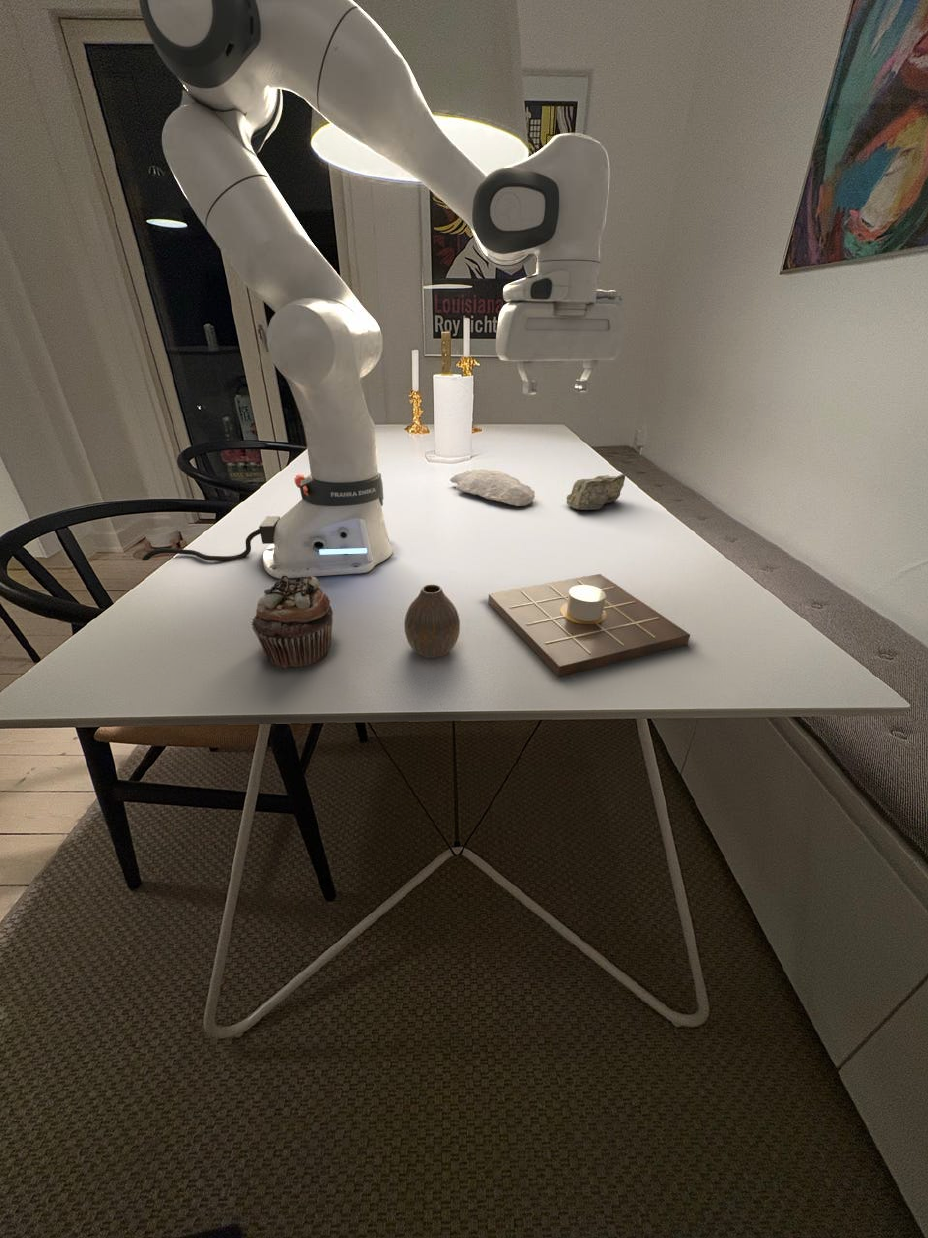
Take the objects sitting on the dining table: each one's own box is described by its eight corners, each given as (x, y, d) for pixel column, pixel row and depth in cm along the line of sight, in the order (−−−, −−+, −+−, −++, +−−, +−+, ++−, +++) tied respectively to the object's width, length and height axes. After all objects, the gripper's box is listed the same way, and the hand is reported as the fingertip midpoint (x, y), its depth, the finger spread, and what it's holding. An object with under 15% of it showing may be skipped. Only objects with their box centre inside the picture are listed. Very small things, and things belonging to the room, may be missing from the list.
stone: (438, 489, 130) (504, 514, 113) (437, 467, 127) (505, 490, 110) (484, 477, 138) (553, 499, 122) (485, 456, 136) (555, 476, 119)
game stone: (579, 623, 69) (582, 604, 67) (559, 607, 72) (561, 588, 71) (609, 617, 70) (613, 598, 69) (589, 601, 74) (591, 582, 73)
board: (558, 677, 61) (559, 666, 60) (488, 602, 77) (488, 593, 76) (687, 644, 68) (690, 633, 67) (598, 582, 83) (600, 573, 83)
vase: (416, 670, 62) (413, 606, 57) (399, 641, 67) (395, 581, 63) (468, 657, 64) (469, 596, 60) (447, 631, 70) (447, 572, 65)
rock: (592, 474, 125) (631, 470, 119) (595, 501, 128) (633, 499, 121) (554, 485, 114) (595, 481, 107) (557, 515, 116) (597, 513, 109)
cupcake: (337, 627, 70) (328, 560, 65) (336, 668, 62) (326, 594, 57) (264, 634, 68) (249, 565, 63) (253, 676, 60) (235, 602, 55)
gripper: (612, 291, 79) (599, 388, 86) (493, 286, 72) (489, 392, 79) (638, 289, 74) (622, 393, 81) (513, 284, 67) (507, 397, 74)
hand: (555, 393), depth 80 cm, fingers open, 8 cm apart
